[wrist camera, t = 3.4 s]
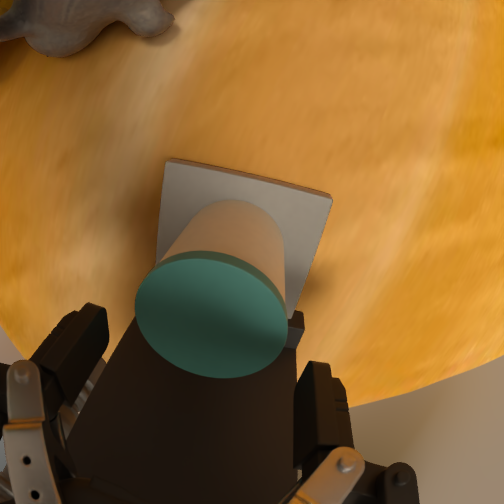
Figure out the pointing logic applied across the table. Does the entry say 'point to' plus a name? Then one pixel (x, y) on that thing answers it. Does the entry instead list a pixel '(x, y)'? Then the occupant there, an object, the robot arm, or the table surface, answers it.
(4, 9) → the ornament
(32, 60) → the table surface
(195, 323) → the container
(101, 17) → the piggy bank
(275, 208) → the coffee maker
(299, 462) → the robot arm
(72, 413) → the candle holder
